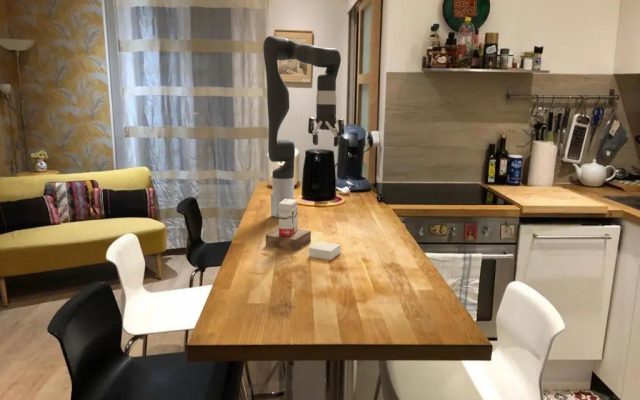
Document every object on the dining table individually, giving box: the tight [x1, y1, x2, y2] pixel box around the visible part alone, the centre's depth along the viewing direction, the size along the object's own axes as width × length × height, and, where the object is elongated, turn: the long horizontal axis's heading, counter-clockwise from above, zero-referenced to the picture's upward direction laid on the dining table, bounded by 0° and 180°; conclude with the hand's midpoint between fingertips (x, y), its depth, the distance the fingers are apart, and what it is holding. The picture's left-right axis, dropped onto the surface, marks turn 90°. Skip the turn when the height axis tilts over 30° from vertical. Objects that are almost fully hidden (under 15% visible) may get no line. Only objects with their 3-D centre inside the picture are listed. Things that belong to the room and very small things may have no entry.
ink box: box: [278, 199, 299, 236], centre depth 185 cm, size 9×5×12 cm, turn 167°
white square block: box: [308, 241, 342, 261], centre depth 176 cm, size 8×8×3 cm
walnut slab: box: [265, 228, 312, 251], centre depth 187 cm, size 12×12×4 cm
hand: (325, 145), depth 199 cm, fingers open, 8 cm apart
